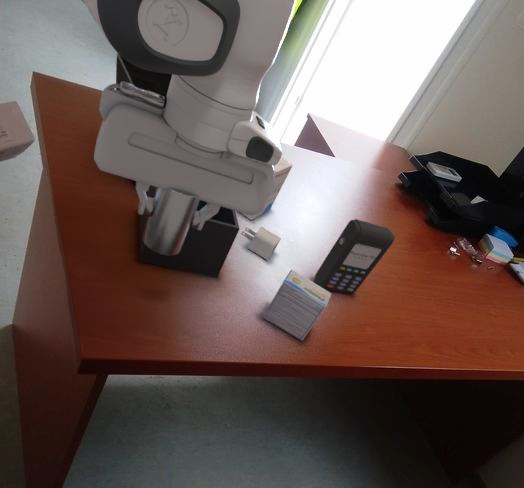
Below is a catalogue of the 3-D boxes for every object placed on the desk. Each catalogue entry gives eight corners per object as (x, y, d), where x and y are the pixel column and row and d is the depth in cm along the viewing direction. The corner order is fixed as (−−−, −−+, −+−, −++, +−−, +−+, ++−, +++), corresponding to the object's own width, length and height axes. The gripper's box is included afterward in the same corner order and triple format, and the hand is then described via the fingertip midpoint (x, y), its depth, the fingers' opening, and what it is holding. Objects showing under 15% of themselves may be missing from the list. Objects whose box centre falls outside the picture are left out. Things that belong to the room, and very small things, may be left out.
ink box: (253, 198, 103) (275, 150, 95) (271, 211, 102) (294, 164, 94) (233, 207, 96) (255, 157, 89) (252, 221, 96) (275, 172, 88)
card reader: (316, 291, 89) (358, 229, 79) (310, 277, 91) (350, 215, 81) (354, 297, 93) (398, 239, 83) (347, 284, 96) (389, 226, 86)
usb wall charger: (266, 261, 88) (275, 245, 86) (236, 242, 88) (243, 226, 86) (273, 252, 91) (281, 237, 89) (243, 234, 91) (251, 218, 89)
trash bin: (140, 261, 73) (156, 206, 66) (139, 213, 81) (153, 160, 74) (217, 277, 79) (239, 228, 72) (209, 231, 87) (228, 183, 80)
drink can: (142, 250, 57) (161, 188, 51) (141, 225, 60) (159, 164, 54) (182, 259, 59) (205, 201, 53) (179, 235, 63) (201, 177, 57)
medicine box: (308, 328, 80) (333, 293, 74) (301, 342, 77) (327, 307, 71) (269, 304, 80) (291, 267, 74) (261, 318, 77) (283, 280, 71)
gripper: (104, 87, 42) (80, 211, 51) (295, 158, 51) (246, 254, 60) (106, 62, 46) (84, 181, 55) (283, 132, 55) (239, 225, 64)
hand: (170, 219), depth 57 cm, fingers closed on drink can, 5 cm apart
